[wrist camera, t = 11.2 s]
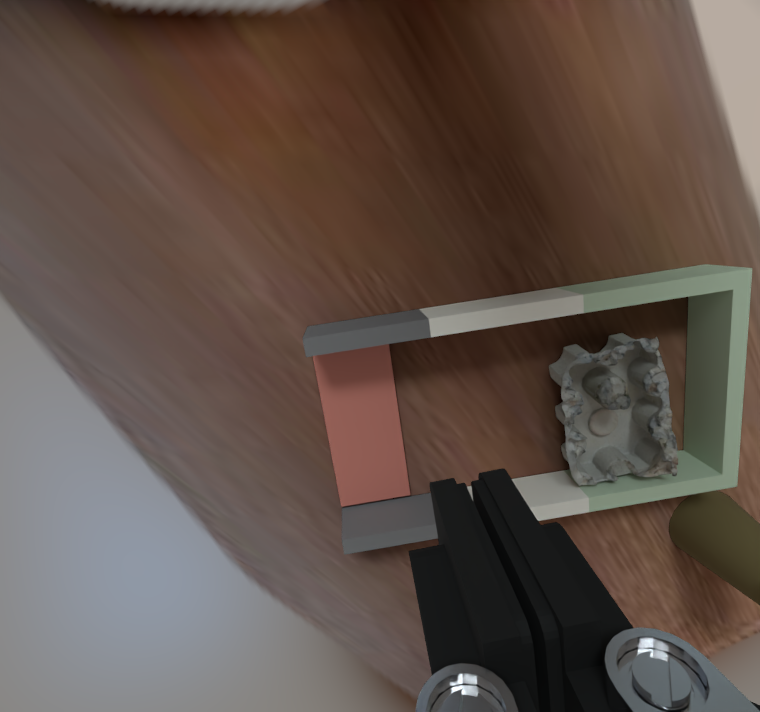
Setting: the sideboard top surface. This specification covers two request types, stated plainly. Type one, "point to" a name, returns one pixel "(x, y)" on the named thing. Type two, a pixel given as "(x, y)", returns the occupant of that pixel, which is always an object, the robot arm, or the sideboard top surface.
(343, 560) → the sideboard top surface
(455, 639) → the robot arm
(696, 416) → the frame
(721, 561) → the cork
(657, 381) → the egg carton
